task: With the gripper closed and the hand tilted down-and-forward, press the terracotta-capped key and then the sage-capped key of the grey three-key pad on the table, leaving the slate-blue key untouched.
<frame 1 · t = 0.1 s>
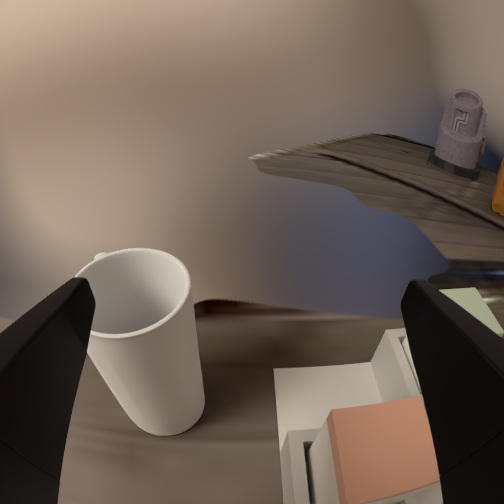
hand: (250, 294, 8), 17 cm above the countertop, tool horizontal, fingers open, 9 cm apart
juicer: (456, 166, 79), on the countertop
keypad: (400, 477, 16), on the countertop
key sage: (448, 342, 19), point 7 cm above the countertop, slide at 0.0 cm
mug: (155, 388, 23), on the countertop
key terracotta: (366, 467, 12), point 7 cm above the countertop, slide at 0.0 cm
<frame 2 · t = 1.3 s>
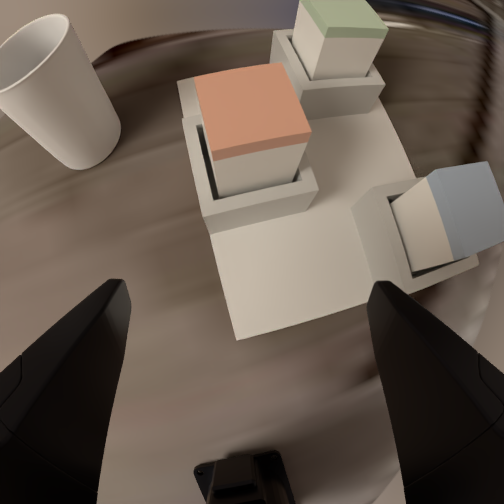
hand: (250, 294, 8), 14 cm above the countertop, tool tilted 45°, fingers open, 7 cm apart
key slate: (448, 219, 16), point 6 cm above the countertop, slide at 0.0 cm
keypad: (309, 166, 24), on the countertop
key sage: (335, 37, 19), point 6 cm above the countertop, slide at 0.0 cm
mug: (80, 131, 24), on the countertop
key terracotta: (248, 133, 17), point 6 cm above the countertop, slide at 0.0 cm
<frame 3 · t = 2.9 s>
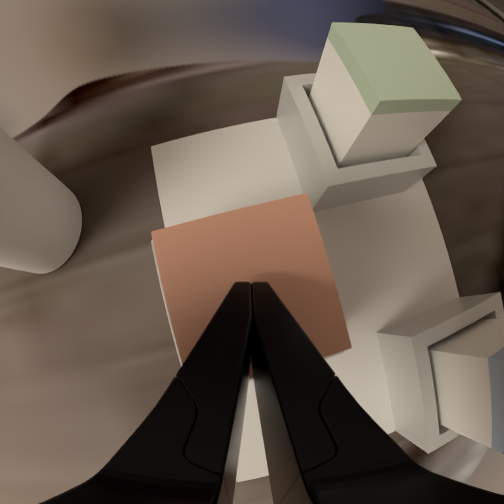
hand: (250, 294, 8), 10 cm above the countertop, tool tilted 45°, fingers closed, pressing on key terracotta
key slate: (494, 377, 11), point 6 cm above the countertop, slide at 0.0 cm
keypad: (328, 278, 18), on the countertop
key sage: (376, 96, 13), point 6 cm above the countertop, slide at 0.0 cm
mug: (36, 216, 19), on the countertop
key terracotta: (248, 296, 12), point 6 cm above the countertop, slide at -0.1 cm, touching gripper
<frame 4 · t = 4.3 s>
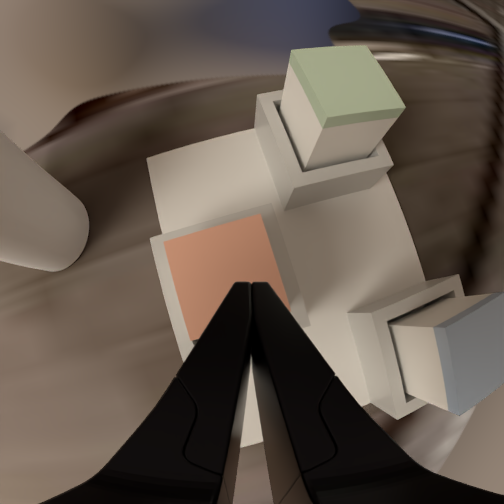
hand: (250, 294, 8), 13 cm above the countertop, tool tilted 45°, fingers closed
key slate: (451, 348, 14), point 6 cm above the countertop, slide at 0.0 cm
keypad: (301, 266, 21), on the countertop
key sage: (334, 109, 17), point 6 cm above the countertop, slide at 0.0 cm
mug: (47, 221, 22), on the countertop
key terracotta: (228, 282, 17), point 4 cm above the countertop, slide at -2.3 cm
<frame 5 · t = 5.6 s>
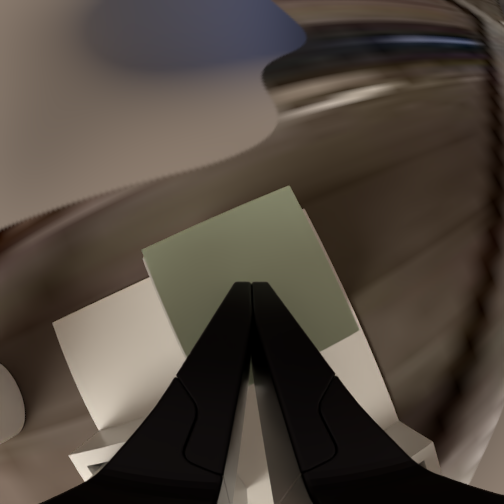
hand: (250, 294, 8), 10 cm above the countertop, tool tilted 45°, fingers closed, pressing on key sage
keypad: (244, 437, 16), on the countertop
key sage: (247, 296, 12), point 6 cm above the countertop, slide at 0.0 cm, touching gripper
key terracotta: (156, 495, 12), point 4 cm above the countertop, slide at -2.3 cm
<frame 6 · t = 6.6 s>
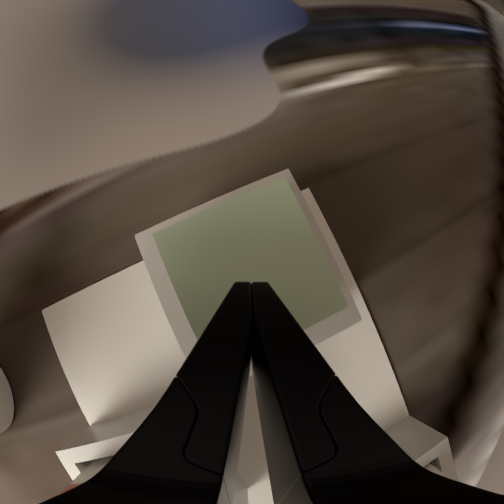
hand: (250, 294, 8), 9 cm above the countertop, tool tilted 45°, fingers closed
keypad: (245, 434, 15), on the countertop
key sage: (247, 279, 13), point 4 cm above the countertop, slide at -2.3 cm
key terracotta: (149, 496, 11), point 4 cm above the countertop, slide at -2.3 cm
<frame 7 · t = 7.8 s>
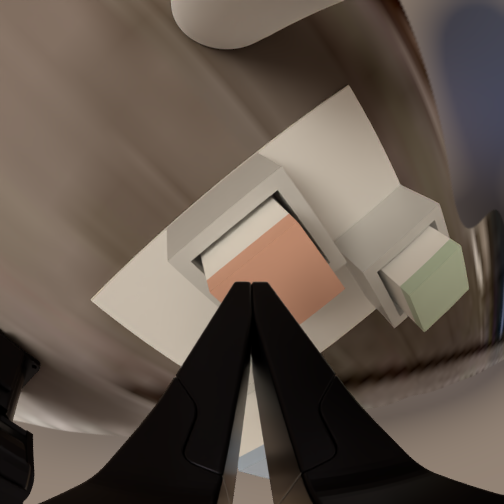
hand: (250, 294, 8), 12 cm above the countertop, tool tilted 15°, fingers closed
key slate: (272, 429, 21), point 6 cm above the countertop, slide at 0.0 cm
keypad: (287, 277, 23), on the countertop
key sage: (414, 268, 20), point 4 cm above the countertop, slide at -2.3 cm
key terracotta: (263, 259, 17), point 4 cm above the countertop, slide at -2.3 cm
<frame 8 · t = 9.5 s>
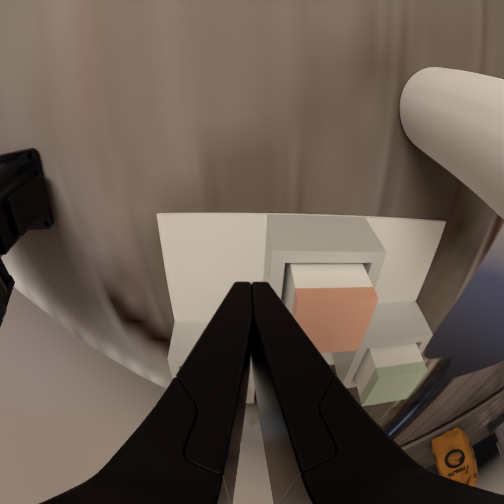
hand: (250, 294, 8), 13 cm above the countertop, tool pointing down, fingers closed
coffee package: (447, 434, 56), on the countertop
keypad: (302, 304, 26), on the countertop
key sage: (384, 361, 25), point 4 cm above the countertop, slide at -2.3 cm
mug: (451, 100, 17), on the countertop
key terracotta: (321, 293, 20), point 4 cm above the countertop, slide at -2.3 cm
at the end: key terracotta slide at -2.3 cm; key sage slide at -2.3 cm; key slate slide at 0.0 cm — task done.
